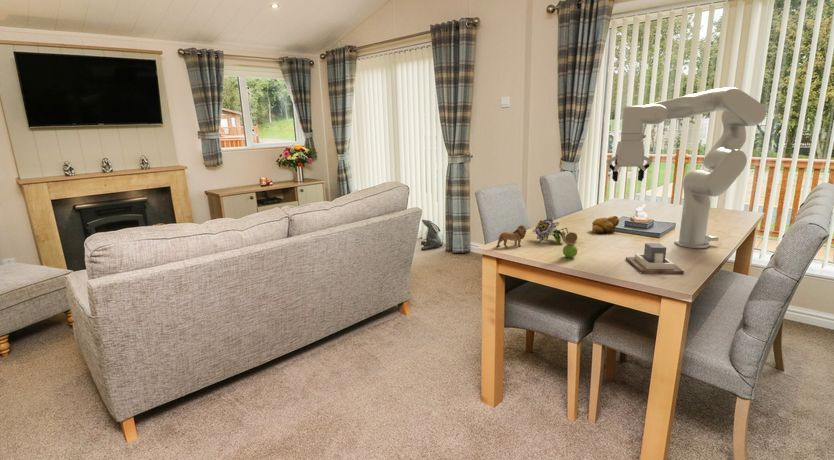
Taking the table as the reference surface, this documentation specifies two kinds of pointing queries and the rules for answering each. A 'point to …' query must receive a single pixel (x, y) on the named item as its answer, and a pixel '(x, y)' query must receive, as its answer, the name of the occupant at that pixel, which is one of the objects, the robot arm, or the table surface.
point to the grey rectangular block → (654, 253)
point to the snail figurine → (569, 244)
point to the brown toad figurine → (605, 224)
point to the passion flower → (548, 230)
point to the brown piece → (653, 266)
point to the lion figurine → (513, 236)
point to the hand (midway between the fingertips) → (627, 180)
